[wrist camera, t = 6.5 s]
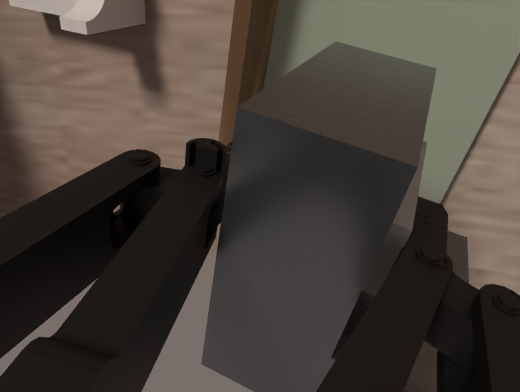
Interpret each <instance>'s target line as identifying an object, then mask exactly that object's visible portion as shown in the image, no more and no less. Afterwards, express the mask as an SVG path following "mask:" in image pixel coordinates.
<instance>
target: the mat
mask: <svg viewBox="0 0 520 392" xmlns="http://www.w3.org/2000/svg"><path fill="white" fill-rule="evenodd" d="M335 41H337V42H341V43H344V44H348V45H352V46H355V47H359V48H363V49H366V50H370V51H374V52H378V53H381V54H385V55H389V56H392V57H396V58H400V59H404V60H407V61H411V62H415V63H418V64H422V65H426V66H430V67H433V68H437V70H436V75H435V80H434V86H433V91H432V96H431V101H430V107H429V112H428V117H427V122H426V128H425V133H424V138H423V141H425V142H427V147H426V153H425V159H424V164H423V170H422V176H421V182H420V188H419V194H418V196H419V197H422V198H425V199H427V200H430V201H433V202H436V203H439V204H440V203H441V201H442V199H443V197H444V195H445V193H446V191H447V189H448V187H449V186H450V184H451V182H452V180H453V178H454V176H455V174H456V172H457V170H458V168H459V167H460V165H461V163H462V161H463V159H464V157H465V155H466V153H467V151H468V149H469V148H470V146H471V144H472V142H473V140H474V138H475V136H476V134H477V132H478V130H479V129H480V127H481V125H482V123H483V121H484V119H485V117H486V115H487V113H488V112H489V110H490V108H491V106H492V104H493V102H494V100H495V98H496V96H497V94H498V93H499V91H500V89H501V87H502V85H503V83H504V81H505V79H506V77H507V75H508V74H509V72H510V70H511V68H512V66H513V64H514V62H515V60H516V58H517V56H518V55H519V53H520V0H279V1H278V7H277V13H276V18H275V24H274V30H273V36H272V41H271V47H270V53H269V59H268V64H267V70H266V76H265V82H264V87H263V89H265V88H266V87H268V86H269V85H271V84H272V83H274V82H275V81H277V80H278V79H280V78H281V77H283V76H284V75H286V74H287V73H289V72H290V71H292V70H293V69H295V68H296V67H298V66H299V65H301V64H302V63H304V62H305V61H307V60H308V59H310V58H311V57H313V56H314V55H316V54H317V53H319V52H320V51H322V50H323V49H325V48H326V47H328V46H329V45H331V44H332V43H334V42H335Z"/></svg>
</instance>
